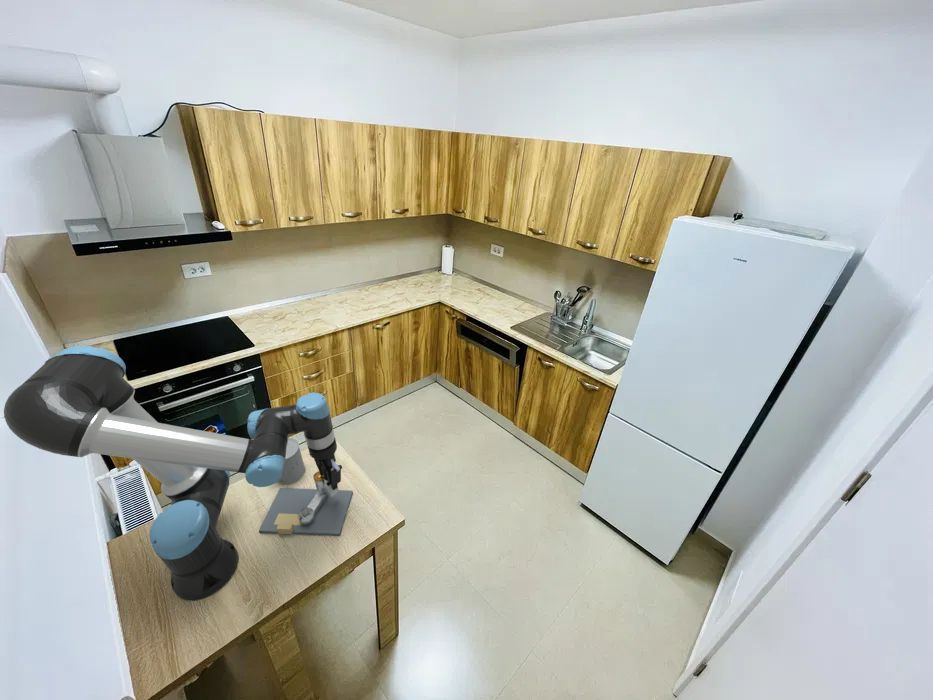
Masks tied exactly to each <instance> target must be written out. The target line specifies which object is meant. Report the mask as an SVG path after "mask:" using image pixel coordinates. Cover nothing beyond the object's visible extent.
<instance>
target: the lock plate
mask: <svg viewBox="0 0 933 700" xmlns="http://www.w3.org/2000/svg"><path fill="white" fill-rule="evenodd" d="M353 493H354V491H353V490H351V489H350V490H348V489H347V490H346V489H345V490H344V489H339V492H337V493H336V494H335V495H334V496H332V497H331V496H330V495H329V496H328V497H327V498H326V499H325V501H324V502H323V504H322V505H321V507H320V508H319V510H318V511H317V513H316V514H315V520H314V522H313V523H312V524H310V525H308V526H302V525H301V524H300V522H299V519H298V514H299V512H300V511H301V510H302V509H304V508H307V507H308V505H309V504H310V502H311V501H312V499H313V498H314V497H315V495H316V494H317V488H299V487H298V488H296V487H295V488H293V487H279V488H278V490H277V493H276V495H275V497H274V499H273V501H272V503H271V506H270V507H269V510H268V511H267V513H266V515H265V517H264V519H263V521H262V523H261V525H260V527H259V529H258V533H259V534H269V535H270V534H272V535H273V534H274V535H279V534H280V535H302V536H305V535H306V536H327V537H329V536H331V537H332V536H333V537H336V536H337V537H341V535H342V531H343V528H344V524H345V521H346V517H347V514H348V511H349V507H350V505H351V502H352V501H351V500H352V497H353ZM301 513H302V516H304V517H305V516H307V515H308V514H309V510H308V509H304V510H303V511H302V512H301Z"/></svg>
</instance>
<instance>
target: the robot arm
mask: <svg viewBox="0 0 933 700" xmlns="http://www.w3.org/2000/svg"><path fill="white" fill-rule="evenodd" d="M126 369H127V366H126V364H125V362H124V360H123V359H122V358H121V357H120V356H118V355H117V354H116V353H114V352H112V351H110V350H108V349H105V348H103V347H94V346H92V345H75V346H70V347H67V348H64V349H61V350H60V351H58V352H57V353H56V354H55V355H53V356H52V357H50V358H48V359H47V360H46V361H45V362H44V364H42V365H41V367H39V368H38V369H37V370H36V371H35V372H34V373H33V374H32V375H31V376H29V378H27V379H26V381H24V382H23V383H22V384H21V385H19V386H17V388H15V389H14V390H13V392H11V394H10V395H9V396H8V397H7V399H6V402H5V403H4V404H5V405H4V408H3V418H4V419H5V420H4V421H5V422H6V424H7V427H8V428H9V430H10V431H11V432H12V433H13V434H14V435H15V436H16V437H18V439H20V440H22V441H23V442H25V443H26V444H28V445H30V446H32V447H35V448H37V449H39V450H42V451H45V452H48V453H52V454H57V455H60V456H67V457H75V458H84V457H86V456H89V455H90V454H96V455H97V454H98V455H106V456H113V457H118V458H119V457H121V458H126V459H132V460H133V461H135V462H136V464H138V465H139V466H141V467H142V468H143V469H144V470H145V471H147V472H148V473H149V474H151V476H153V477H154V478H155V479H156V480H158V481H159V482H160V483H161V485H160V491H161V493H162V494H163V496H166V497H167V498H168V499H169V500H170V502H171V504H170V505H169V506H167V507H166V508H165V510H164V512H160V513H159V514H158V515H157V517H156V518H155V519H154V520H153V522H152V524H151V526H150V529H149V535H148V536H149V542H150V544H151V547H152V549H153V552H155V554H156V555H157V556H158V557H159V558H160V559H161V561H162V562H163V563H164V565H165V566H166V567H167V568H168V570H169V571H170V585H171V589H172V591H173V593H174V594H175V595H176V596H177V597H178V598H179V599H180V600H184V601H189V602H192V601H199V600H204V599H205V598H208V597H210V596H212V595H213V594H215V593H217V592H218V591H219V590H221V589H222V588H223V587H224V586H225V585H226V584H227V583H229V581H230V580H231V579H232V577H233V575H234V574H235V572H236V570H237V568H238V566H239V565H238V564H239V553H238V551H237V548H236V546H235V545H234V544H233V543H232V542H231V541H229V540H227V539H225V538H223V537H221V536H220V534H219V531H218V530H217V527H218V523H219V522H218V521H219V519H220V515H221V512H222V509H223V507H224V506H223V505H224V502H225V498H226V497H227V492H228V490H229V489H228V488H229V486H230V479H231V472H233V473H240V474H244V476H245V480H246V482H247V483H248V484H250V485H252V486H253V487H257V488H265V487H270V486H273V485H274V484H276V483H278V482H277V481H279V479H280V478H281V477H282V473H283V468H284V465H285V457H286V449H287V443H288V438H289V435H294V434H298V433H303V435H304V439H305V443H306V445H307V448H308V452H309V455H310V456H311V458H313V460H314V462H315V465H316V467H317V469H318V471H319V472H320V475H321V476H322V475H323V477H324V479H325V480H326V484H327V488H328V492H329V495H330V496H331V497H332V496H334V495H335V494H336V493H337V492H339V490H340V489H339V483H340V482H342V469H343V466H342V465H341V464H337V460H336V456H335V454H336V451H337V448H338V445H337V440H336V436H335V431H334V424H333V422H332V417H331V416H332V415H331V411H330V406H329V405H328V402H327V398H326V397H325V395H323V394H322V393H319V392H308V393H306V395H301V396H300V397H299V398H298V399H297V400H296V403H295V404H291V405H284V406H277V407H276V406H275V407H267V408H264V409H257V410H254V411H252V412H250V414H249V415H248V418H247V424H246V425H247V426H246V428H247V433H248V435H249V437H250V438H245V437H238V436H233V435H229V434H228V435H227V434H222V433H217V432H211V431H206V430H200V429H194V428H189V427H184V426H183V427H182V426H178V425H172V424H168V423H162V422H158V421H157V420H156V419H155V418H154V417H153V416H152V415H150V413H149V412H148V411H146V410H145V409H144V408H143V407H142V406H141V405H140V404H139V403H138V402H137V400H135V399H134V395H135V392H136V390H135V388H134V387H133V385H131V384H130V383H129V382H128V381H127V380H126V379H125V378H124V377H125V376H126Z"/></svg>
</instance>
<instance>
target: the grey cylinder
mask: <svg viewBox="0 0 933 700" xmlns="http://www.w3.org/2000/svg"><path fill="white" fill-rule="evenodd" d="M305 473H306V467H305V464H304V460H303V456H302V451H301V448H300V444H299V442H298V441H297V440H296V439H294V438H289V437H288V443H287V449H286V457H285V465H284V468H283V473H282V477H281V478H280V479H279V481H277V482H276V483H279V484H280V485H284V486H286V485H293V484H295V483H297V482H299V481H300V480H301V479H302V478H303V477H304V475H305Z"/></svg>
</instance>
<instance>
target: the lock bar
mask: <svg viewBox="0 0 933 700" xmlns="http://www.w3.org/2000/svg"><path fill="white" fill-rule="evenodd" d="M313 481H314V485H315V489H317V494H316V495H315V497H314V498H313V499H312V501H311V502H310V504H309V505H308V507H307V508H304V509H308V510H309V514H308V515H307V516H305V517H304V516H302V513H301V512H302V511H303V510H304V509H302V510H301V511H300V512H299V514H298V519H299V522H300V524H301V525H302V526H308V525H310V524H312V523H313V522H314V520H315V514H316V513H317V511H318V510H319V508H320V507H321V505H322V504H323V502H324V501H325V499H326V498H327V497H328V496H329V492H328V488H327V484H326V480H325V479H324V477H323V475H322V476H321V475H320V472H319V470H318V471H316V472H315V473H314V474H313Z"/></svg>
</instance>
